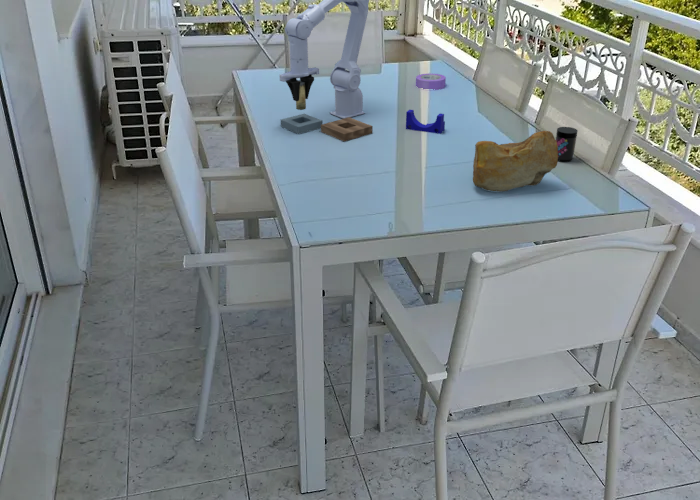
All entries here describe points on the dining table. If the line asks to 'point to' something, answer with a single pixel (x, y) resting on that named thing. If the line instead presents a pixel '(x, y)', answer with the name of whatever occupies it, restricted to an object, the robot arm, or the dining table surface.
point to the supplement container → (566, 143)
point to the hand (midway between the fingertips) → (300, 99)
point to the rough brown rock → (514, 162)
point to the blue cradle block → (416, 125)
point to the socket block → (346, 129)
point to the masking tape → (430, 81)
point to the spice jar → (301, 96)
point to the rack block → (301, 123)
